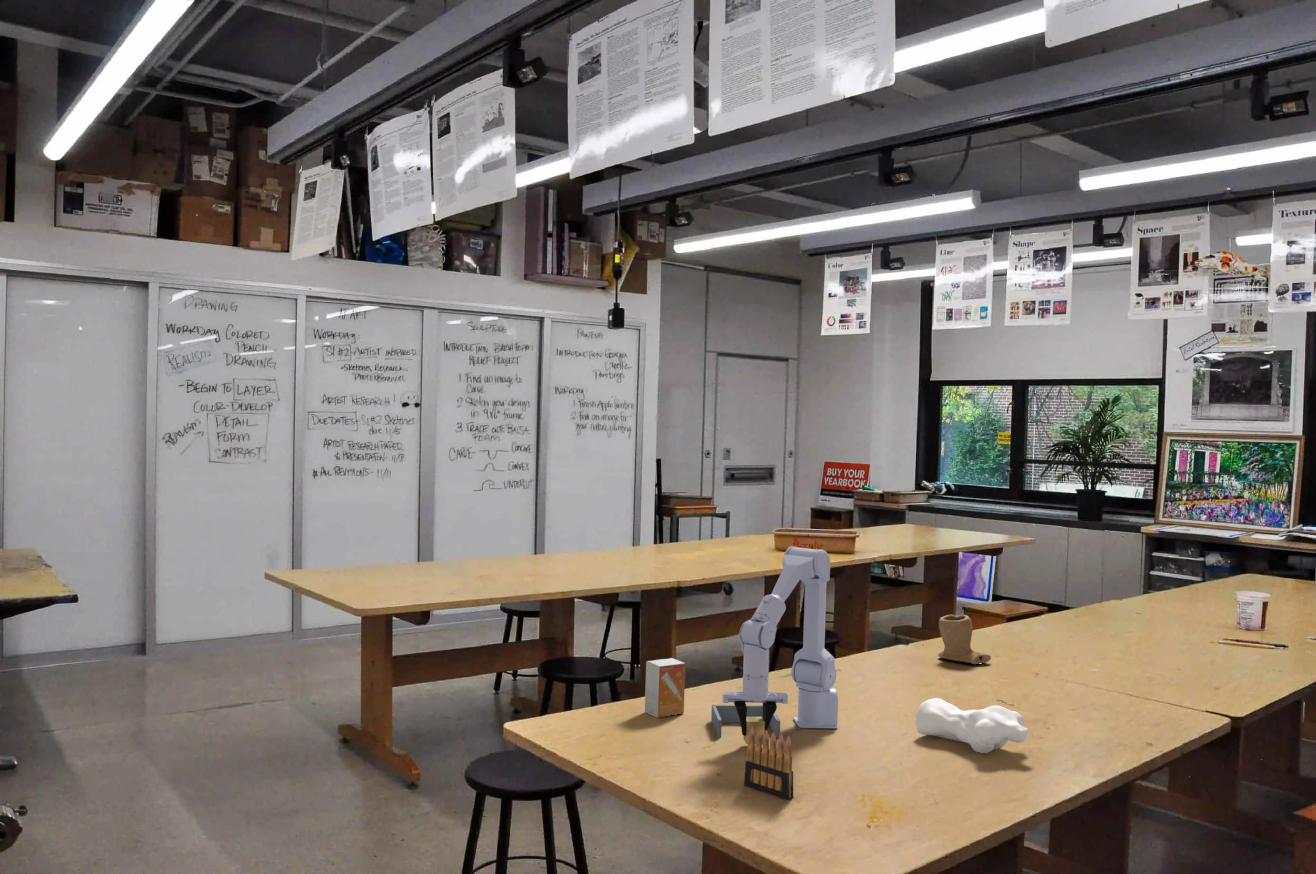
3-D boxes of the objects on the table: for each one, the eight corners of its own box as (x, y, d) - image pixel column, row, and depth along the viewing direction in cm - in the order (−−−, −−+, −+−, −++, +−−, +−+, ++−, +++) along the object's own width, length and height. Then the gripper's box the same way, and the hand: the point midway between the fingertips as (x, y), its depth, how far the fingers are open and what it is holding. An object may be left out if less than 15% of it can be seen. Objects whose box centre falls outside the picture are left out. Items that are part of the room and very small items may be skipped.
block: (761, 738, 218) (761, 716, 218) (764, 744, 214) (764, 722, 214) (743, 738, 218) (744, 716, 218) (746, 744, 214) (746, 721, 214)
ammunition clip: (743, 785, 192) (745, 726, 192) (749, 783, 193) (750, 724, 193) (788, 800, 185) (790, 738, 185) (793, 797, 186) (795, 736, 186)
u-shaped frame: (770, 721, 236) (770, 705, 236) (779, 737, 224) (780, 720, 224) (711, 721, 235) (711, 704, 235) (717, 737, 223) (718, 720, 223)
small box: (657, 718, 236) (659, 666, 236) (643, 712, 241) (645, 660, 241) (684, 714, 241) (686, 662, 241) (670, 708, 246) (671, 657, 246)
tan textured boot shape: (929, 660, 310) (931, 613, 310) (949, 655, 318) (950, 610, 318) (972, 669, 298) (974, 621, 298) (991, 663, 306) (993, 617, 306)
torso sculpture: (907, 746, 224) (1006, 766, 205) (905, 704, 225) (1003, 720, 206) (950, 733, 236) (1047, 750, 217) (948, 692, 237) (1044, 706, 218)
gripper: (726, 678, 212) (724, 739, 212) (791, 679, 212) (789, 740, 212) (722, 670, 219) (720, 730, 219) (784, 671, 219) (783, 730, 219)
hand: (754, 734), depth 216 cm, fingers closed on block, 4 cm apart
